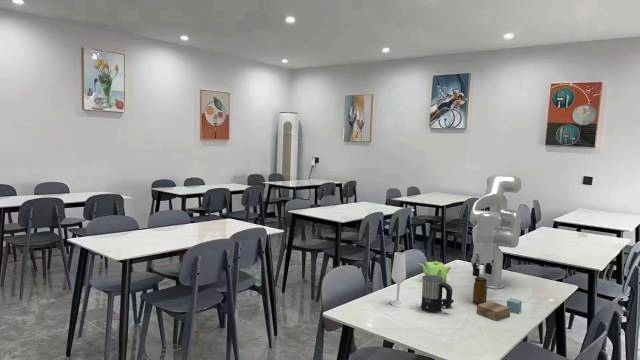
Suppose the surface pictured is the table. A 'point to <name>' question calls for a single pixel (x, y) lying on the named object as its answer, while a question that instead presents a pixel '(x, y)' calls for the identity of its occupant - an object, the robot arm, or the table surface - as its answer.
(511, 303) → the teal cube
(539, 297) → the table surface
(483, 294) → the condiment
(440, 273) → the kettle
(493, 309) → the block
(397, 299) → the champagne flute
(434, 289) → the milk frother
